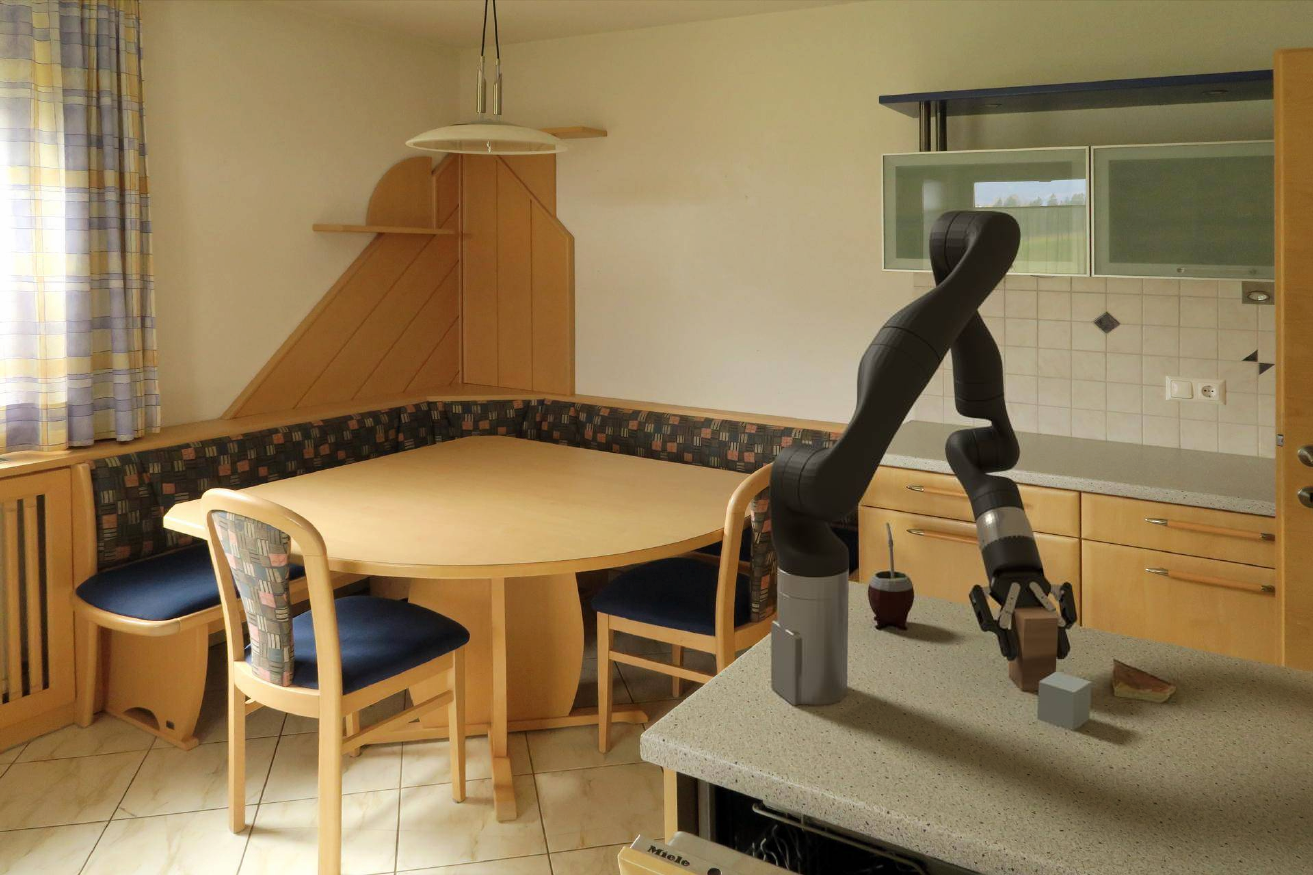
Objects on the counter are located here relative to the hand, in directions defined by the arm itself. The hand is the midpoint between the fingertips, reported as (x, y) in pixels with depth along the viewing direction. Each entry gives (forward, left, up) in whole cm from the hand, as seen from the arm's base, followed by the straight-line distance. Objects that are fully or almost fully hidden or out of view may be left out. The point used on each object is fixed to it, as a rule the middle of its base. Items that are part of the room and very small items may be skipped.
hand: (1037, 657), depth 135 cm
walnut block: (+1, +2, -4) cm, 5 cm away
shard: (+11, -4, -5) cm, 13 cm away
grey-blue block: (-3, -8, -4) cm, 10 cm away
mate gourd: (-3, +29, -5) cm, 29 cm away
